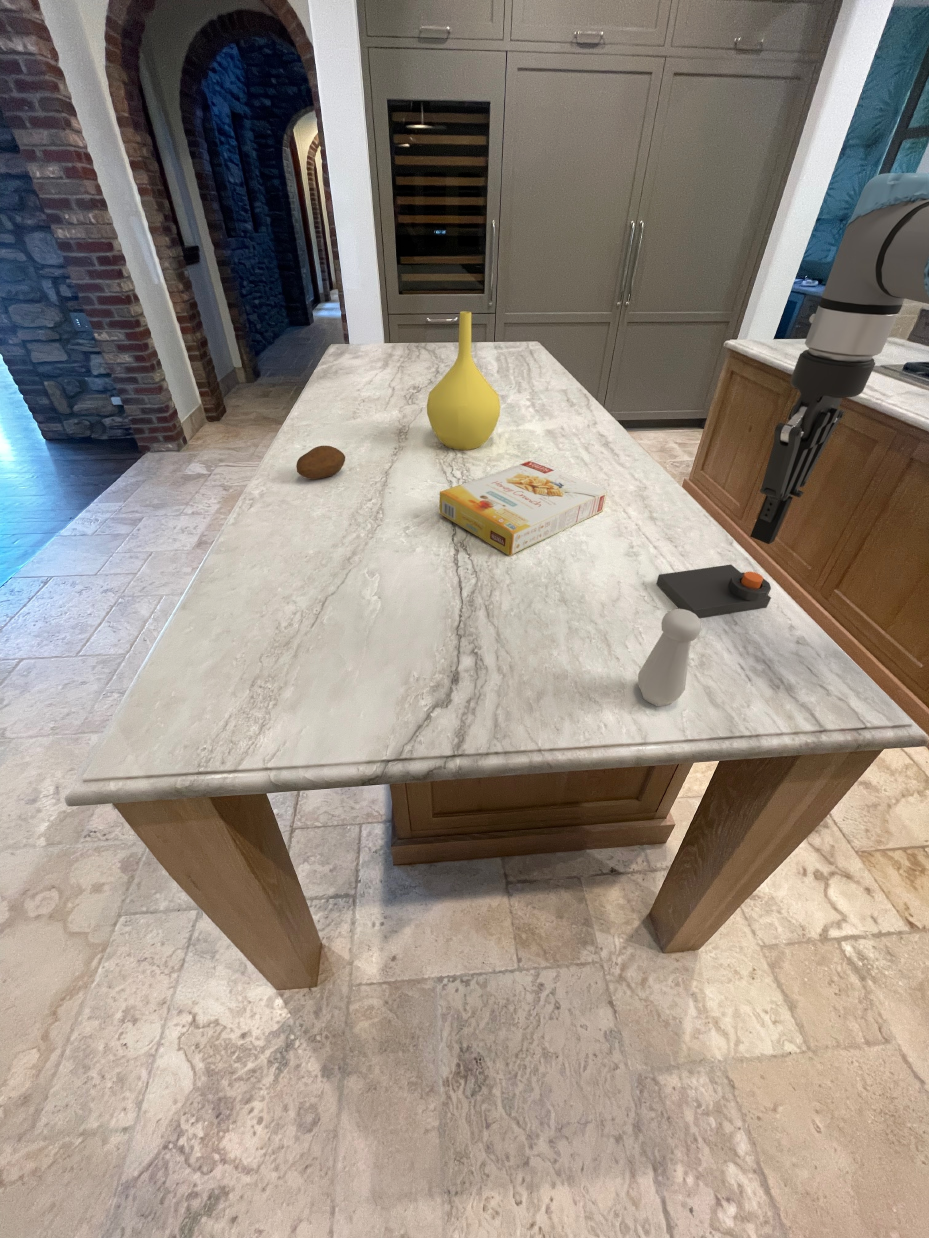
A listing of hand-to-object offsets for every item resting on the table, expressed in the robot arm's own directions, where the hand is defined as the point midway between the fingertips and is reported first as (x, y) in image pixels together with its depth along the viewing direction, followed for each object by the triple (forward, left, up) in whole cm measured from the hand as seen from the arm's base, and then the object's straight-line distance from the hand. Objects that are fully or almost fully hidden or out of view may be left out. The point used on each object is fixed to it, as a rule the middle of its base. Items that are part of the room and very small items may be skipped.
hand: (762, 538), depth 74 cm
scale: (+5, -3, -14) cm, 15 cm away
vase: (+82, -13, -14) cm, 84 cm away
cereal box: (+44, +2, -14) cm, 46 cm away
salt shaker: (-3, +23, -14) cm, 27 cm away
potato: (+84, +26, -14) cm, 89 cm away
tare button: (+1, -6, -11) cm, 13 cm away
